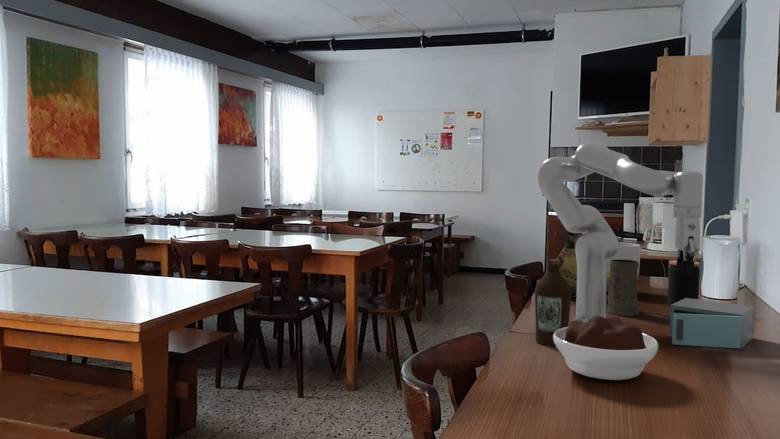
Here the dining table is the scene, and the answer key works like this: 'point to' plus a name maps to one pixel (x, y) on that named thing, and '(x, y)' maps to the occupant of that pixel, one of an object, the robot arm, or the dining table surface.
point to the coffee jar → (682, 283)
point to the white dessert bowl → (605, 348)
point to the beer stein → (623, 288)
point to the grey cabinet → (715, 312)
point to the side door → (708, 330)
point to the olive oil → (551, 304)
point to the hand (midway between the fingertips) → (685, 272)
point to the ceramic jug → (569, 263)
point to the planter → (624, 256)
